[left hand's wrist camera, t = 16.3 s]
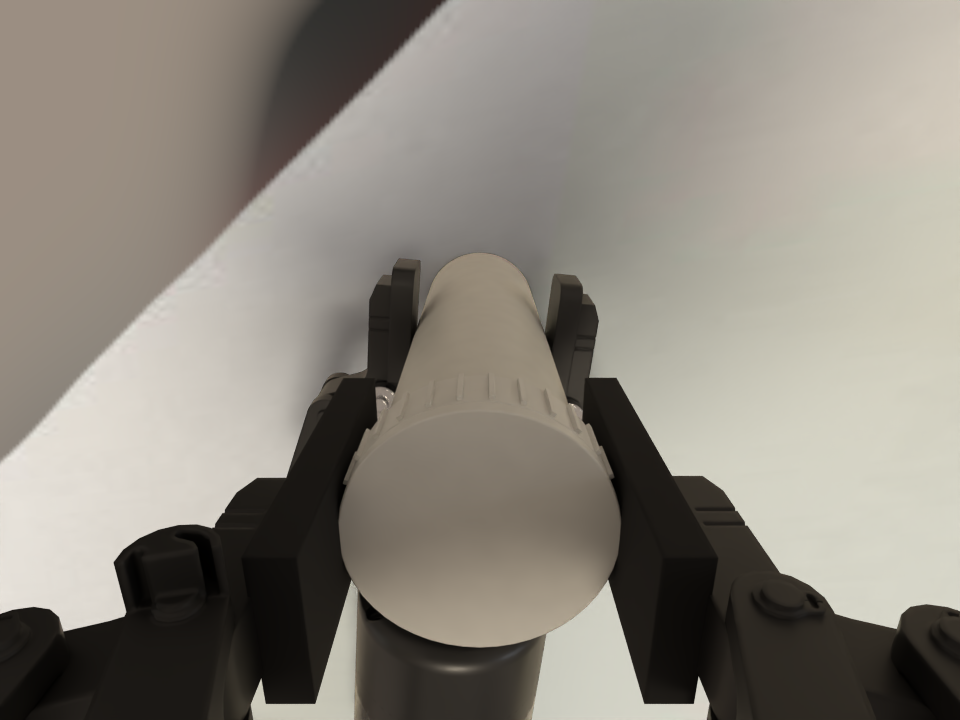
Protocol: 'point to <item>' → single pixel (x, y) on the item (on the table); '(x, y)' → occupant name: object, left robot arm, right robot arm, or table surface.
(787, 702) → the left robot arm
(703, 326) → the table surface
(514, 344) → the jar
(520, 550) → the lid
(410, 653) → the right robot arm
